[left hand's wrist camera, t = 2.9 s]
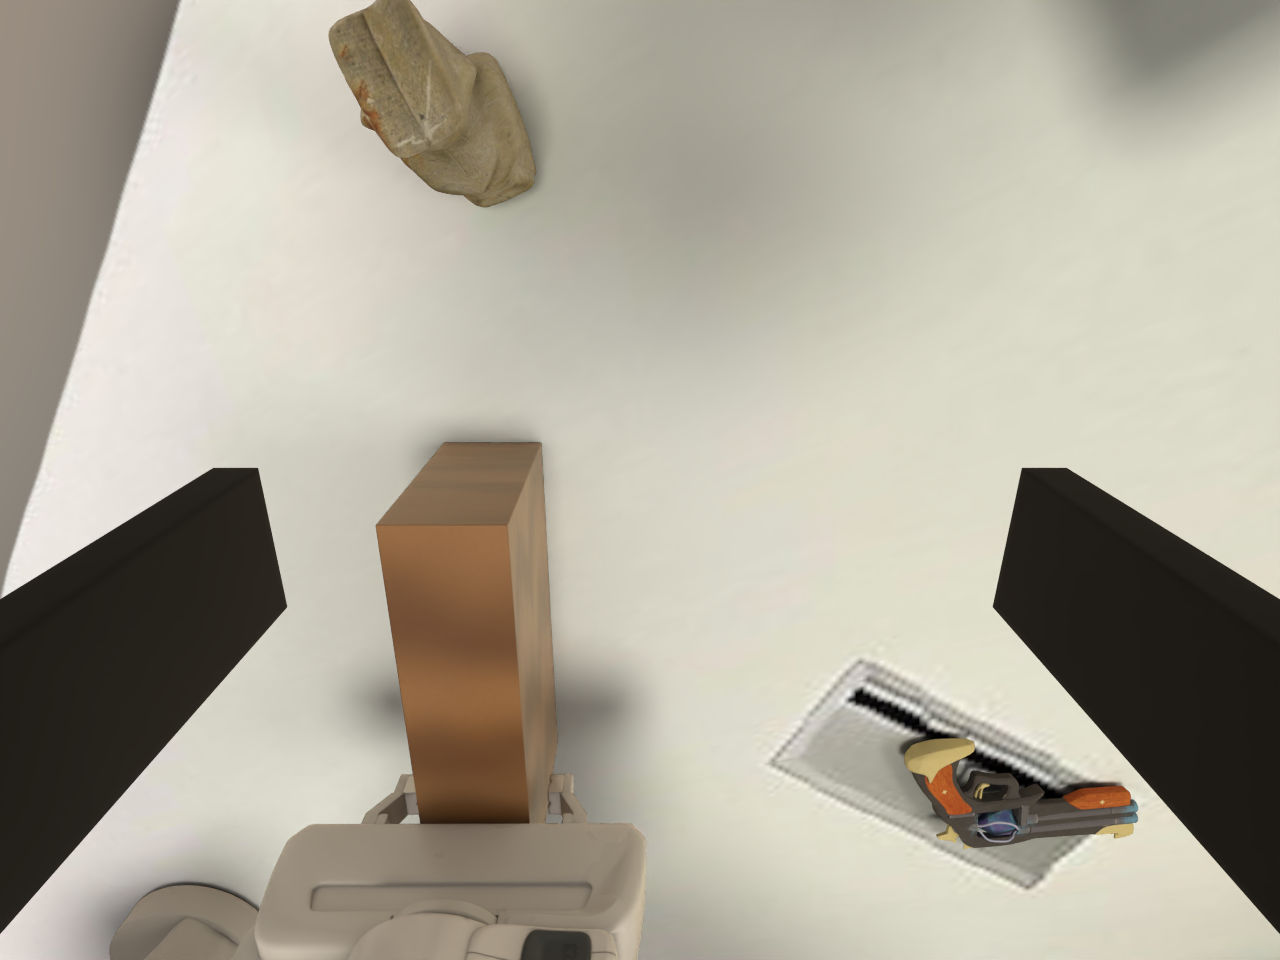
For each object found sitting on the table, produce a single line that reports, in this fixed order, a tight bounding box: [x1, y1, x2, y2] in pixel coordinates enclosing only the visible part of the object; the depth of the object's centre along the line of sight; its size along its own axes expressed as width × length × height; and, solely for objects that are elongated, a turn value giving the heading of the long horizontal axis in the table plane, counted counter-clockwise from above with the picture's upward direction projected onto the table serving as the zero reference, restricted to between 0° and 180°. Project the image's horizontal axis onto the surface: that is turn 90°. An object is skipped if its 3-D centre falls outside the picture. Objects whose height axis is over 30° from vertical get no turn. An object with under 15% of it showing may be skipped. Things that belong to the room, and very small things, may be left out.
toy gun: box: [905, 738, 1138, 849], centre depth 55 cm, size 3×19×10 cm
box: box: [376, 443, 557, 824], centre depth 45 cm, size 25×6×13 cm, turn 0°
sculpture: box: [329, 0, 536, 207], centre depth 32 cm, size 6×7×15 cm
